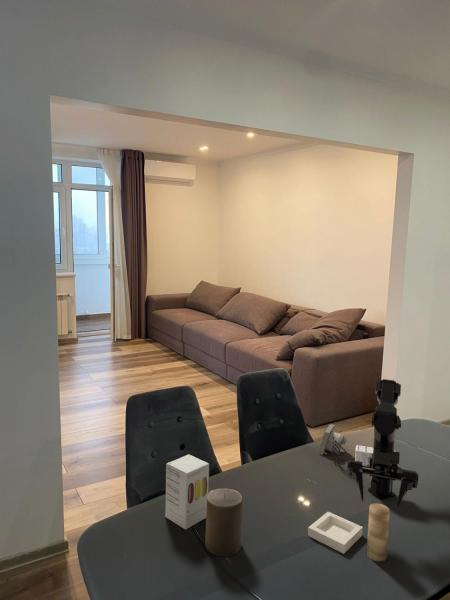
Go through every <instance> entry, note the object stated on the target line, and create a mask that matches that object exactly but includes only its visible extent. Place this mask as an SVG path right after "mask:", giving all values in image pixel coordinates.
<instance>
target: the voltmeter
mask: <svg viewBox="0 0 450 600" xmlns="http://www.w3.org/2000/svg"><path fill="white" fill-rule="evenodd" d="M335 426H336V425H335V424H332V423H330V424H328V427H326V429H325V430H324V433H323V435H322V436H323V437H322V440H321V443H320V447H319V450H318V454H320V455H321V456H323V455H328V453H327V452H326V451H329V452H331V454H332V456H331V458H332V460H334V461H333V464H334V465H335V466H339V468H340V469H341V470H342V471H343V472H345V470H344V468H343V467H342V466H341V465H340V463H339V462H340V461H341V462H342V463H343V465H346V462H345V461H344V460H343V459H342V458H341V456H342V453H341V452H340V451H341V449H342V450H343V452H344V453H345V454H347V453H348V452H347V450H346V449H344V447H343V446H344V445H346V443H347V440H348V438H347V437H345V435H344V434H341V433H338V432H336V431H334V429H335V430H338V428H337V427H335ZM342 445H343V446H342Z"/></svg>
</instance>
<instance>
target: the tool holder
mask: <svg viewBox="0 0 450 600" xmlns="http://www.w3.org/2000/svg"><path fill="white" fill-rule="evenodd" d="M363 530H364V529H363V526H361V525H360V524H358V523H355V522H352V521H350V520H348V519H346V518H343V517H341V516H338V515H336V514H334V513H333V512H330V511H326V513H324V514H323V515H321V516H320V517H319V518H318V519H317V520H316V521H314V522H313V523H312V524H311V525H310V526H308V527H307V536H308V537H309V538H312V539H314V540H316V541H317V542H319V543H322V544H324V545H326V546H327V547H329V548H332V549H333V550H335V551H337V552H339V553H342V554H343V555H345V553H346V552H347V551H348V550H349V549H350V548H352V547H353V545H354V544H355V543H356V542H357V541H358V540H359V539H360V538H361V537H363Z"/></svg>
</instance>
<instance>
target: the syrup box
mask: <svg viewBox="0 0 450 600" xmlns="http://www.w3.org/2000/svg"><path fill="white" fill-rule="evenodd" d="M394 451H395V452H397V451H396V450H394ZM354 453H355V457H354V459H355V460H354V461H359V462H362V466H364V467H369V468H370V458H372V456H373V447H371V446H364V445H356V446H355V451H354Z"/></svg>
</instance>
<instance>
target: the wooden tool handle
mask: <svg viewBox="0 0 450 600" xmlns="http://www.w3.org/2000/svg"><path fill="white" fill-rule="evenodd" d="M368 508H369V510H368V522H367V523H368V526H367V539H366V540H367V543H366V555H367V557H368V558H369V559H370V560H372V561H374V562H378V563H380V562H379V561H383V562H385V561H386V560H387V557H388V545H389V544H388V543H389V542H388V541H389V529H390V528H389V526H390V511H391V510H390V508H389V507H387V506H386V505H384V504H383V503H382V504H381V503H375V502H374V503H371V504H370V505H369V506H368Z"/></svg>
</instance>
